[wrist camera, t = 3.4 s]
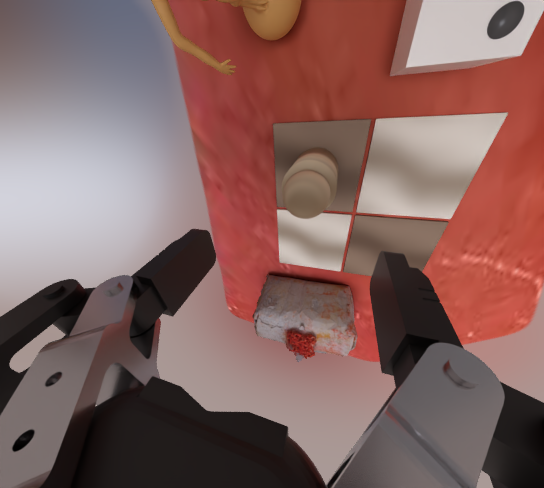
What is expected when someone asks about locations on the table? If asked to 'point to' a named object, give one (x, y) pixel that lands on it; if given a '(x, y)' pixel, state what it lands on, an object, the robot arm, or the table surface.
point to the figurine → (259, 13)
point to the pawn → (310, 183)
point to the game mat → (381, 186)
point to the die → (462, 33)
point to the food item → (306, 316)
